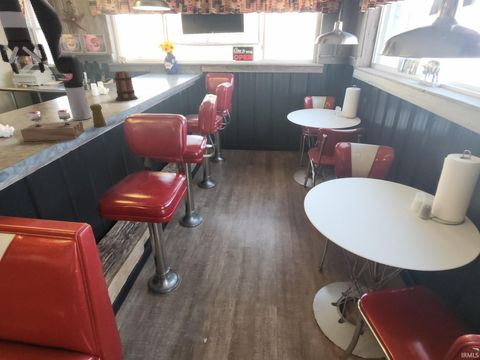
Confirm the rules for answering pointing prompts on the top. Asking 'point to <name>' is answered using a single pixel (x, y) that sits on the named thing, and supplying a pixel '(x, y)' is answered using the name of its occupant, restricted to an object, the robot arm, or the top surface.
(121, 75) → the tankard
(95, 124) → the cork
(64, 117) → the knob
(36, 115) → the knob
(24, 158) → the top surface
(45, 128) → the console
